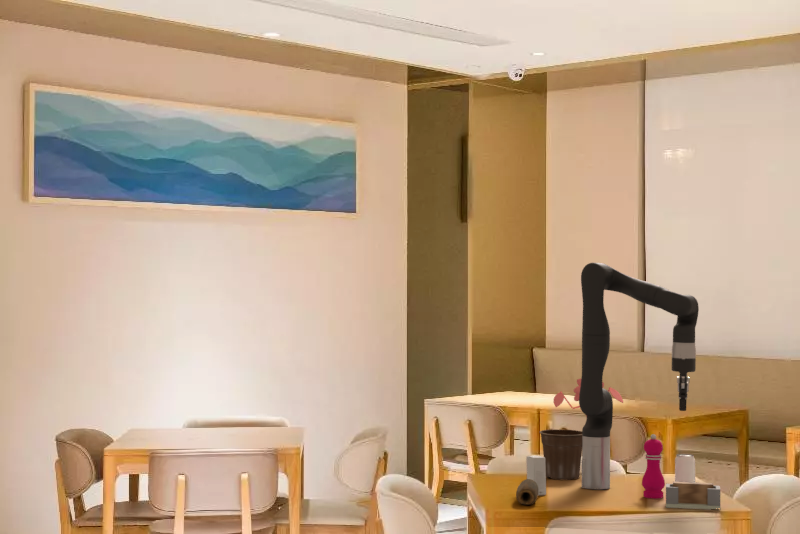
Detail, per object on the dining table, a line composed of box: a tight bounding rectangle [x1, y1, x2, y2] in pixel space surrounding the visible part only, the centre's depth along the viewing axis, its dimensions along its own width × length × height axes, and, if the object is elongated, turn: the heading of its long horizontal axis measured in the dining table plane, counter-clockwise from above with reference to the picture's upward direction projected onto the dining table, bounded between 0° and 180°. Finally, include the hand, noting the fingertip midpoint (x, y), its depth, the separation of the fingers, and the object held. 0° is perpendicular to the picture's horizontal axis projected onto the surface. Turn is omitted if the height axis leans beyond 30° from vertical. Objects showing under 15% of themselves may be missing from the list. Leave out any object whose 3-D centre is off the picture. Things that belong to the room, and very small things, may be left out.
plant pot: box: [539, 429, 583, 481], centre depth 415 cm, size 16×16×16 cm
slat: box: [672, 481, 714, 504], centre depth 359 cm, size 12×3×6 cm, turn 77°
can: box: [674, 453, 696, 482], centre depth 386 cm, size 6×6×12 cm
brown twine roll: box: [515, 478, 539, 506], centre depth 363 cm, size 15×7×7 cm, turn 174°
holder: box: [665, 483, 721, 510], centre depth 359 cm, size 16×9×6 cm, turn 77°
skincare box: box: [525, 454, 547, 496], centre depth 379 cm, size 6×4×12 cm
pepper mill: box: [641, 433, 666, 500], centre depth 375 cm, size 7×7×20 cm
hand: (682, 410), depth 377 cm, fingers closed
